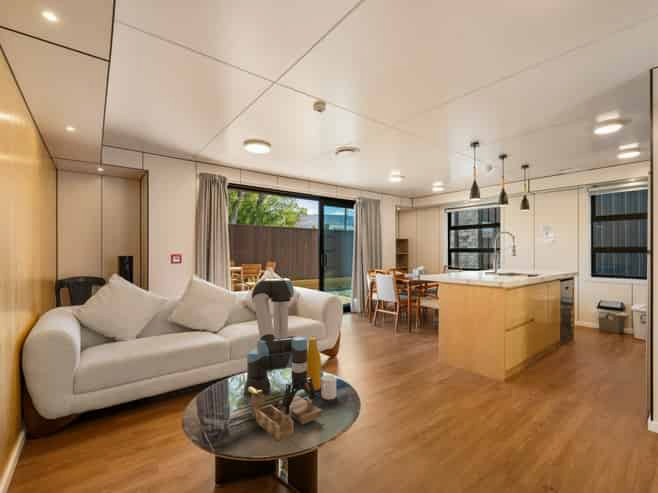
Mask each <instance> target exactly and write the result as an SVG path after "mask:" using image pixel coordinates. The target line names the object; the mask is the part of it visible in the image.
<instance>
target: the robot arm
mask: <svg viewBox="0 0 658 493" xmlns="http://www.w3.org/2000/svg"><path fill="white" fill-rule="evenodd" d="M294 291H295V290H294V285H293V282H292V280H291V279H290V278H285V277H284V278H283V277H282V278H264V279H261V280H260V281H258V282H257V283H256V284H255V286H254V287H253V289H252V291H251V302H252V303H253V304H254V310H255V316H256V322H257V327H258V328H257V329H258V336H259V340H258V341H257V342H256V348H254V349H252V350H250V351H249V352H248V353H247V358H246V365H247V368H246V372H247V373H246V374H247V375H246V381H245V383H244V384H245V385H244V387H243V388H244V389H243V391H244V392H243V393H244V394H245V395H247V396H250V397H252V393H251V392H250V391H248V387H251V386H252V387H253V388H255V389H256V390H262V391H263V395H266V394H268V393H269V392H271V389H272V388H271V387H272V386H271V383H270V378H269V375H268V372H271V371H279V370H285V369H289V368H291V382H290V383H286V384H285V391H284V395H283V398H282V400H283V401H282V400H281V401H282V406H284V407H286V413H287V416H288V417H289V418H290V419H291V406H290V405H291V403H292V401H293V398H294V396H296V394H298V392H299V391H301V390H303V391H304V392H305V394H306V395H307V398H306V401H308V402H309V403H311V404H312V405H314V404H313V400H314V399H315V397H316V396H317V394H316V390H314V387H313V384H312V378H310V377H308V378H307V351H308V341H307V338H306V337H303V336H296V335H292V334H291V335H289V303H290V302H291V298H294ZM269 301H270V302H271V303H272V304H273V320H272V315H271V310H270V305H269ZM307 382H308V386H309V389H310V390H308V388H307V386H306V383H307Z"/></svg>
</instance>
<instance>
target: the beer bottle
mask: <svg viewBox="0 0 658 493" xmlns="http://www.w3.org/2000/svg"><path fill="white" fill-rule="evenodd" d="M321 362H322V360H321V354H320V351H319V348H318V342H317V338H316V337H310V338H309V340H308V346H307V378H308V377H310V378H312V384H313V387H314V390H315V391H318V390H320V389H321V378H322V374H321V370H322V368H321V367H322V366H321ZM306 386H307V388H308V390H309V391H310V389H309V386H308V382H307V383H306Z"/></svg>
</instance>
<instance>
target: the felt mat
mask: <svg viewBox="0 0 658 493" xmlns="http://www.w3.org/2000/svg"><path fill="white" fill-rule="evenodd" d="M279 411H281V412H282V413H284V414H285V415H286V416H287V413H286V412H284V411H283V410H281V409H280V410H279ZM291 419H292V420H293V427H295V428H296V429H297V430H298V431H300V432H302V433H303V434H305V433H308V432H309V431H312V430H314V429H317V428H318V427H321V426H323V425H325V422H323V421H322V420H321V419H319V418H317V419H314V420H312V421H310V422H307V423H305V424H301V423H299V422H298V421H297V420H295V419H294V418H292V417H291Z"/></svg>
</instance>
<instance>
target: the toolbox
mask: <svg viewBox="0 0 658 493" xmlns="http://www.w3.org/2000/svg"><path fill="white" fill-rule="evenodd" d="M261 393H262V397H259V398H258V397H256V396H255V393H254V392H252V396H251V416H252V417H253V418H254V419H255V423H256V424H257V425H258V426H259V427H261V428H262V429H263V430H264V431H265V432H266V433H267V434H268V435H269V436H271V437H272V438H274V440H275V441H276V442H280V441H281V440H284V439H287V438H288V437H291V436H294V426H293V420H292V419H290V418H289V417H288V416H286V415H285V414H284V413H282V412H281V411H280V410H279V408H276V407H275V405H272V404H268V405H266V404H265V403H266V401H265V400H266V396H265V394H263V391H262V390H261Z"/></svg>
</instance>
